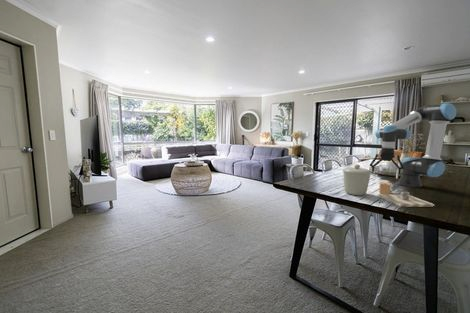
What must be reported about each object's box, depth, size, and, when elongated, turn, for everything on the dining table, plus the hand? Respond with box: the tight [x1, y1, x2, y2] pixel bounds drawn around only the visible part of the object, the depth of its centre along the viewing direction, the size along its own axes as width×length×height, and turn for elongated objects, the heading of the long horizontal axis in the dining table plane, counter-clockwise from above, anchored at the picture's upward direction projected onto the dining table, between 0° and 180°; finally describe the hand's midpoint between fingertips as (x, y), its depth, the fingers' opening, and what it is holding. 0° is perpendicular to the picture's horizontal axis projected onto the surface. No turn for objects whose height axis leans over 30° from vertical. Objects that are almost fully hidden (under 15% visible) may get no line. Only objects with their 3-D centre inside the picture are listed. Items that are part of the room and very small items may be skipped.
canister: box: [342, 164, 373, 196], centre depth 156 cm, size 18×18×21 cm
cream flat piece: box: [377, 191, 435, 208], centre depth 140 cm, size 20×20×6 cm
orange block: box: [378, 181, 392, 194], centre depth 158 cm, size 8×6×7 cm
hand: (385, 177), depth 157 cm, fingers open, 13 cm apart
